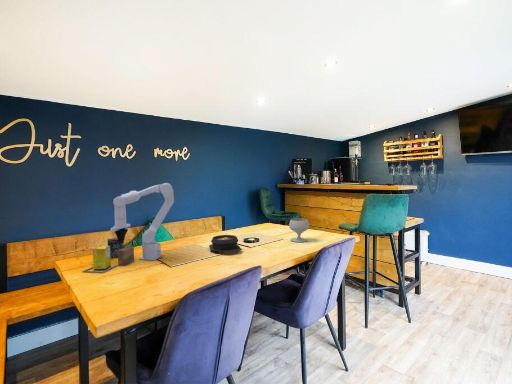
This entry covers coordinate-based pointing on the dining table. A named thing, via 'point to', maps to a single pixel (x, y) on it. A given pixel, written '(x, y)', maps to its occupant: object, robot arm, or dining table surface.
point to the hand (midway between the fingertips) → (121, 242)
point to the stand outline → (97, 271)
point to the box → (115, 246)
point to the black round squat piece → (225, 244)
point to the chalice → (299, 228)
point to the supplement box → (101, 258)
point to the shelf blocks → (125, 256)
